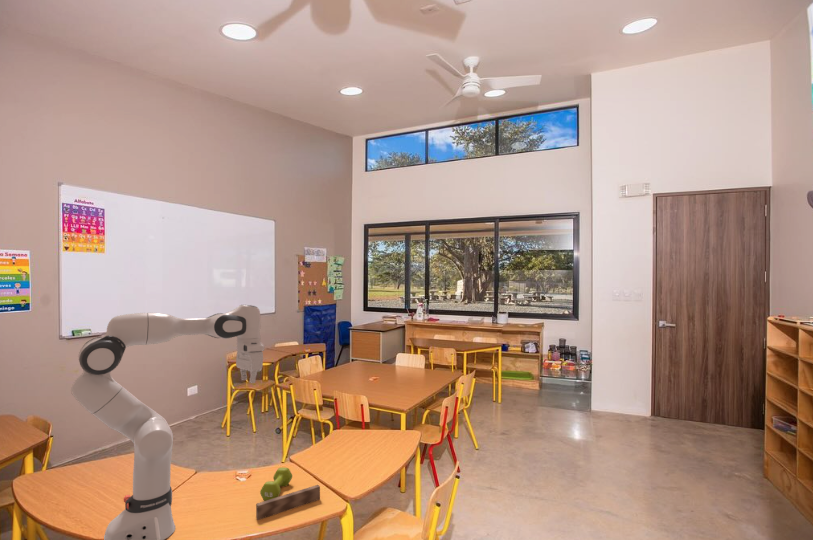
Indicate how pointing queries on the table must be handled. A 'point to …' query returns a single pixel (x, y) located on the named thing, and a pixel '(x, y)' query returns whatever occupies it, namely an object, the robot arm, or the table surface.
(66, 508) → the table surface
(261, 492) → the dumbbell
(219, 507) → the table surface
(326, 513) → the table surface
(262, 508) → the walnut board
